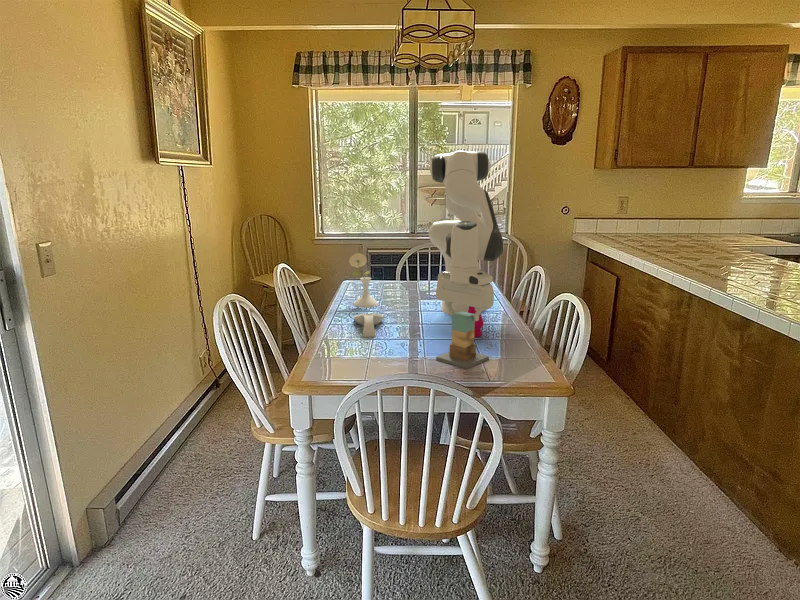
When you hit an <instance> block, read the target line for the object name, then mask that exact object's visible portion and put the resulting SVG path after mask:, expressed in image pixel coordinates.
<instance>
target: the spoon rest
mask: <svg viewBox="0 0 800 600" xmlns="http://www.w3.org/2000/svg"><path fill="white" fill-rule="evenodd" d="M353 318H354V321H356V323H357V324H359V325H362V326H363V330H362V331H363V332H362V337H363V338H374V337H377V335H376V330H375V325H376V326H377V325H379V324H380V323H381V322H382V321H383V320H384V315H383V314H380V313H361V314H355V315H354V316H353Z"/></svg>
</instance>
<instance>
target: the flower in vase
mask: <svg viewBox="0 0 800 600" xmlns="http://www.w3.org/2000/svg"><path fill="white" fill-rule="evenodd" d="M367 262H368V260H367V257H366V255H365V254H363V253H359V252H358V253H354V254H352V255H351V256H350V257H349V259H348V263H349V265H350V266H351V267H355V268H358V270H353V271H352V272H351V273H350V275H352V276H357V277H358V276H359V275H360V276H362V277H360V278H359V279H360V282H361V283H362V290H363V291H362V295H361V296H360V297H359V298H357V299H356V300H355V301H354V303H353V305H354V306H355V307H358V308H374V307H377V306H379V302H378V300H376V299H374V297H372V296H371V295H370V293H369V284H370V281H372V277H367V276H368V275H369V274H370V273H371V271H372V270H371V269H369V270H367V271H366V272H364V273H363V274H362V272H361V269H360V268H361V267H363V266H365V264H366V263H367ZM365 276H366V277H365Z"/></svg>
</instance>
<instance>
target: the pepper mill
mask: <svg viewBox="0 0 800 600" xmlns="http://www.w3.org/2000/svg"><path fill="white" fill-rule="evenodd" d="M468 313H472V314H475V313H476V311H475V307H471V306H469V309H468ZM481 313H482V312H481ZM481 313H480V315H479V320H478V321H475V327H474V338H479V337H481V336H483V331H482V330H483V329H482V328H483V327H484V320H483V316H482V314H481Z"/></svg>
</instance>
